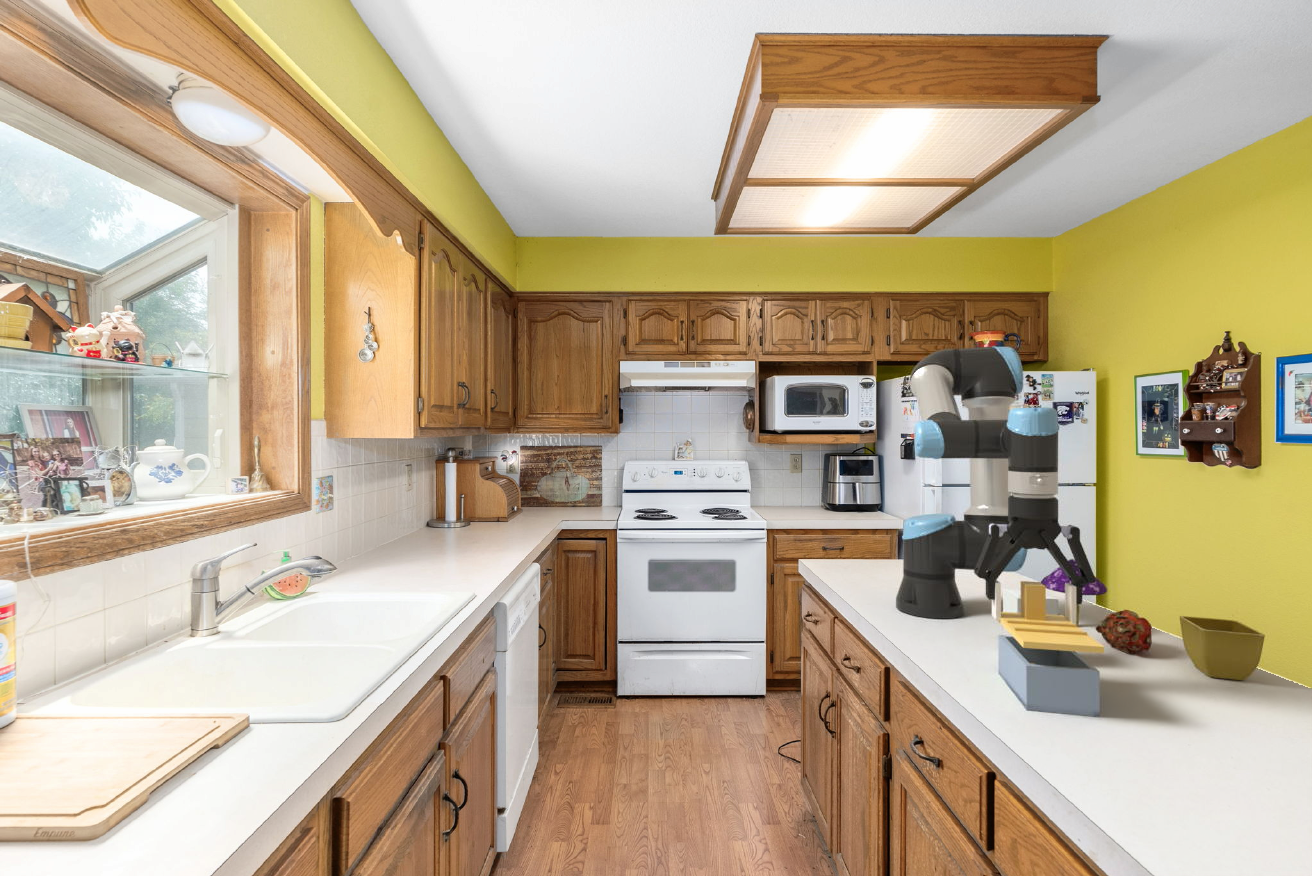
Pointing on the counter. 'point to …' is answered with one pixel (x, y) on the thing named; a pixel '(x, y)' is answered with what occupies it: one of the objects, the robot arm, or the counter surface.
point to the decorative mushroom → (1059, 579)
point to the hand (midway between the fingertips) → (1032, 619)
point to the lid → (1045, 625)
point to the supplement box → (1014, 604)
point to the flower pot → (1222, 646)
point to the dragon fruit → (1126, 631)
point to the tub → (1049, 678)
